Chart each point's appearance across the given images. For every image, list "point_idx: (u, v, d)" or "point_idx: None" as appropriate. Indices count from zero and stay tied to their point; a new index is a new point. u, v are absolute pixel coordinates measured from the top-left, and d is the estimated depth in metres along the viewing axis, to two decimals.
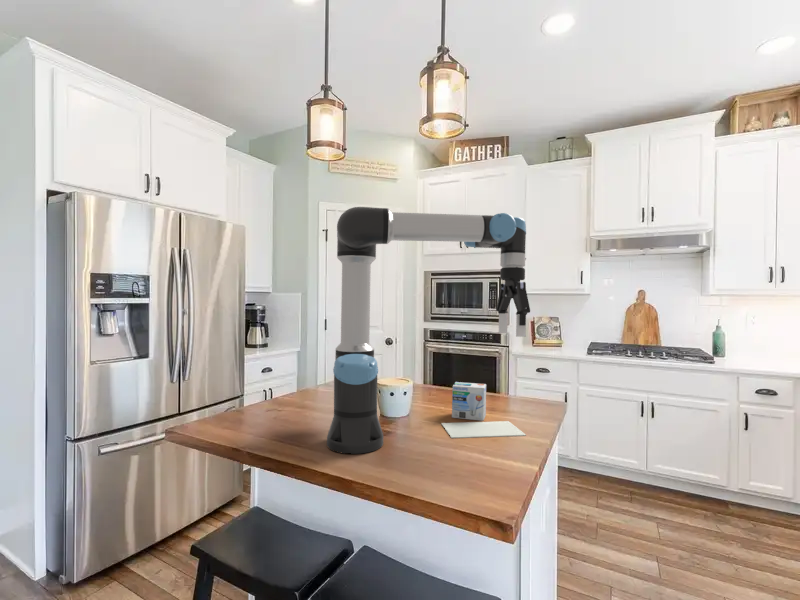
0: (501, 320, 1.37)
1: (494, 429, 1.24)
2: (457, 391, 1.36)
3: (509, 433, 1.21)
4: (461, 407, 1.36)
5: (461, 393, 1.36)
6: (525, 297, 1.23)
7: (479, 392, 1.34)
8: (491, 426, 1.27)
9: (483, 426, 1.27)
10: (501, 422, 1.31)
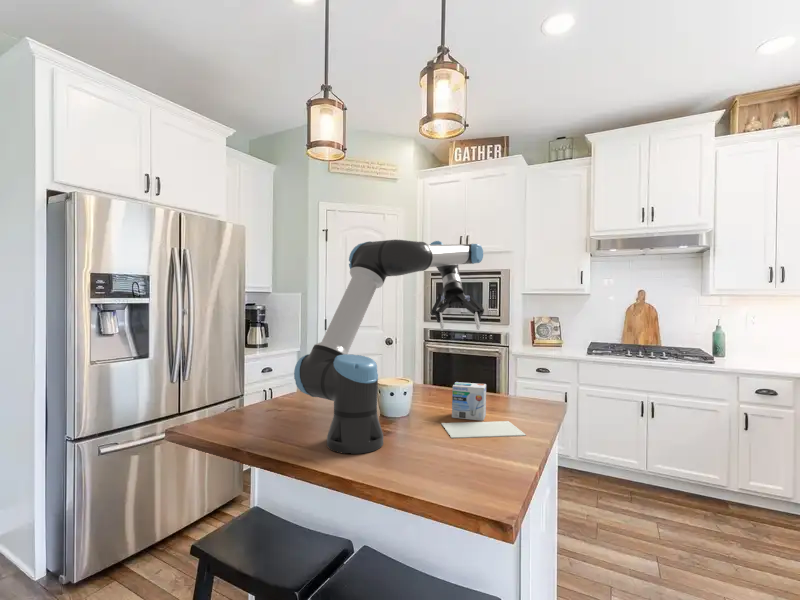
0: (442, 318, 1.56)
1: (494, 429, 1.24)
2: (457, 391, 1.36)
3: (509, 433, 1.21)
4: (461, 407, 1.36)
5: (461, 393, 1.36)
6: None
7: (479, 392, 1.34)
8: (491, 426, 1.27)
9: (483, 426, 1.27)
10: (501, 422, 1.31)
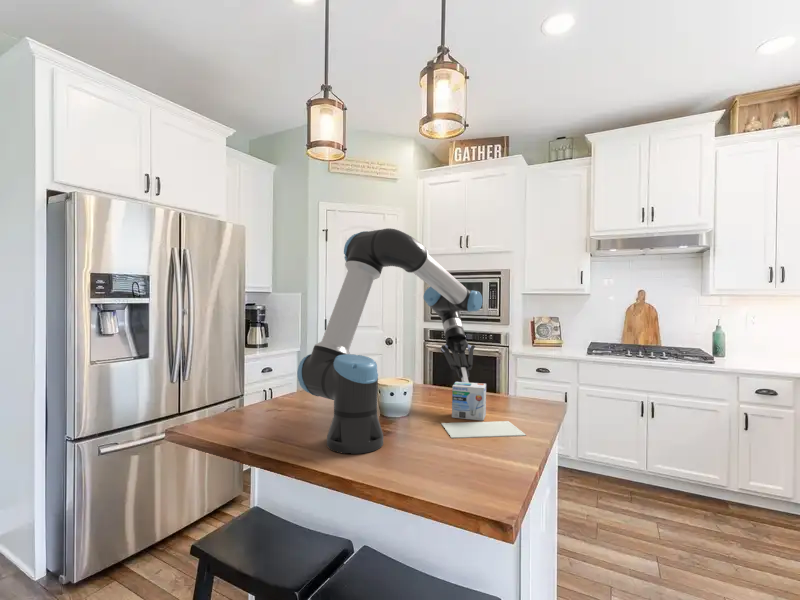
0: None
1: (494, 429, 1.24)
2: (457, 391, 1.36)
3: (509, 433, 1.21)
4: (461, 407, 1.35)
5: (461, 393, 1.35)
6: None
7: (479, 392, 1.34)
8: (491, 426, 1.27)
9: (483, 426, 1.27)
10: (501, 422, 1.31)
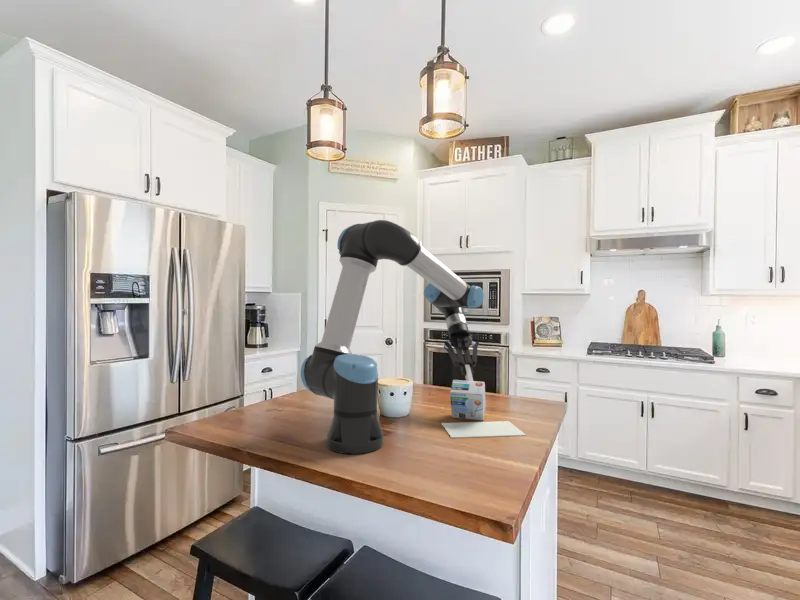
0: None
1: (494, 429, 1.24)
2: (455, 397, 1.32)
3: (509, 433, 1.21)
4: (460, 409, 1.34)
5: (459, 398, 1.32)
6: None
7: (478, 398, 1.30)
8: (491, 426, 1.27)
9: (483, 426, 1.27)
10: (501, 422, 1.31)
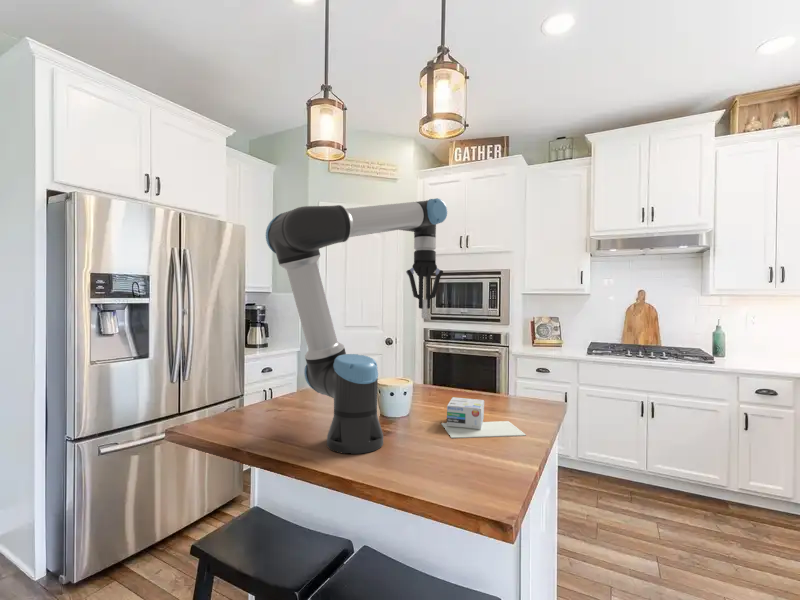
0: None
1: (494, 429, 1.24)
2: None
3: (509, 433, 1.21)
4: None
5: None
6: None
7: None
8: (491, 426, 1.27)
9: (483, 426, 1.27)
10: (501, 422, 1.31)
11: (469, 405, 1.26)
